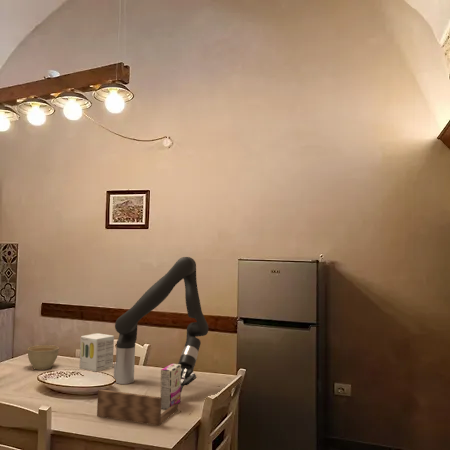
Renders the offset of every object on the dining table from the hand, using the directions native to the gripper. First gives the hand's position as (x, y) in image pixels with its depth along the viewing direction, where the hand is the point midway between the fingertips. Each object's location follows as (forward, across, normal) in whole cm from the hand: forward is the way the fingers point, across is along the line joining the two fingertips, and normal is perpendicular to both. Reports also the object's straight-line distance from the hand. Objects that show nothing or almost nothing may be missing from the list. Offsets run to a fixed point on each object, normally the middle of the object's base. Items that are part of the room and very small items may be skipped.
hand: (177, 392), depth 206 cm
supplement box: (-23, -64, +29) cm, 74 cm away
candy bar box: (+7, -1, -2) cm, 7 cm away
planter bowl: (-15, -90, +20) cm, 93 cm away
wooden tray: (+16, -9, -11) cm, 22 cm away
